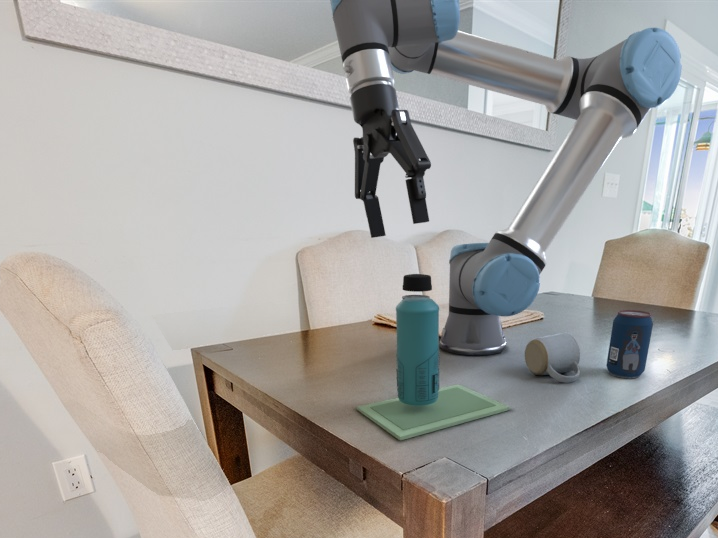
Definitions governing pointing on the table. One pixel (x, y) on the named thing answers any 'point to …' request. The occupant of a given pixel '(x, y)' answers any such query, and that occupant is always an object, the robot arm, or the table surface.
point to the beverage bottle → (417, 344)
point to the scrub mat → (431, 412)
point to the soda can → (629, 343)
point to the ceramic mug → (554, 356)
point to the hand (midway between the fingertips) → (398, 230)
